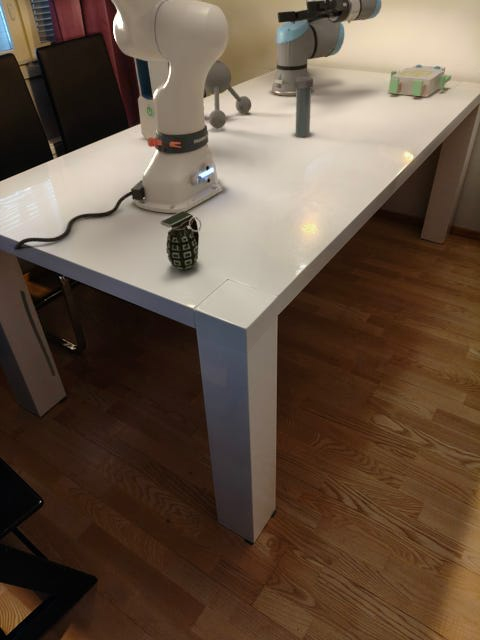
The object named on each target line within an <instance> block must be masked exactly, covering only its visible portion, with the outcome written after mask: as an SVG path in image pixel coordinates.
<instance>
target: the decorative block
mask: <svg viewBox="0 0 480 640" xmlns="http://www.w3.org/2000/svg"><path fill="white" fill-rule="evenodd" d="M445 72H446V67H445V66H440V65H435V66H433V65H422V64H415V65H414V66H412V67H406V68H404V69H402V70H399V71H396V70H392V71H391V72H390V80H389V86H388V87H389V89H388V94H395V95H404V96H413V97H424V98H428V97H430V96H432V95H433V94H434V93H435V92H436V91H438V90H444V88H445V84H447V83H448V82H450V81H451V80H452V75H451V74H445Z"/></svg>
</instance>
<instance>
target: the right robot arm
mask: <svg viewBox="0 0 480 640" xmlns="http://www.w3.org/2000/svg"><path fill="white" fill-rule="evenodd" d="M305 3H306V9H302V10H297V11H296V10H289V11H279V12H277V21H278V23H281V25H279V26H278V27H277V30H276V39H275V42H276V70H275V71H276V72H275V75H274V79H273V82H272V87H271V92H272V94H274V95H277V96H283V97H295V96H296V91H297V88H296V87H295V79H296V78H298V77H310V75H309V72H308V60H312V59H313V60H315V59H319V58H328V57H331V56H335V55H337V54H338V53H339V52H340V50H341V49H342V46H343V44H344V40H345V27H344V24H343V22H347V24H350V23H351V22H354V21H366V20H371V19H374V18H375V17H377V16H378V15H379V14H380V12H381V10H382V0H305Z"/></svg>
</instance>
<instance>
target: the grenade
mask: <svg viewBox="0 0 480 640" xmlns="http://www.w3.org/2000/svg"><path fill="white" fill-rule="evenodd" d="M198 222H199V226H198ZM159 224H160V225H162V226H164V227H166V228H169V230H168V231H167V236H166V254H167V259H168V261H169V263H170V265H171V266H172V267H174V268H176V269H178V270H181V271H186V270H189V269H192V267H194V266H195V265H196V264H197V262H198V261H197V260H198V259H199V243H200V241H199V240H200V233H199V232H200V231H201V228H202V221H201V220H200V219H199V218H198V217H197V216H194V215H193V214H192V213H189V212H187V211H185V212H184V211H181V212H179V213H174V214H172V215H170V216H169V217H166V218H165V219H162V220H160V222H159ZM198 227H199V228H198Z"/></svg>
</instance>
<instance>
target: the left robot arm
mask: <svg viewBox="0 0 480 640" xmlns="http://www.w3.org/2000/svg"><path fill="white" fill-rule="evenodd" d="M110 1H111V2H112V4H113V5H114V7H115V9H116V13H115V14H114V15H115V16H114V19H113V25H112V26H113V27H112V28H113V36H114V39H115V42H116V45H117V46H118V49H119V50H120V51H121V53H123V54H124V55H125V56H128V57H131V58H133V59H134V58H137V59H141V60H144V61H161V62H168V66H169V77H168V80H166V81H164V82H163V83H162V84H161V85H159V86H158V88H157V89H156V91H155V93H154V97H153V101H154V108H155V114H156V121H157V128H158V129H157V130H156V138H152V137H150V138H149V139H147V146H149V147H151V148H152V147H154V148H155V151H154V153H153V155H152V157H151V159H150V162H149V163H148V165H147V167H146V169H145V172H144V173H143V176H142V179H141V180H140V181H138V182H137V183H136V184H135V185H133V187H132V188H131V189H130V191H129V192H127V193H125V194H124V195H122V196H121V197H119V198H118V200H117V201H116V203H115V205H114V206H113V208H112V209H110V210H106V211H104V212H103V211H102V212H93V213H92V212H90V213H82V214H78V215H76V216H74V217H73V218H71V219H70V220H69V221H68V223H67V226H66V229H65V230H64V232H62V233H61V234H60V235H58V236H54V237H26V238H23V239H21V240H20V241H18V242H17V243H16V245H15V246H14V248H13V250H15V251H16V250H19V249H21V247H22V246H23V245H25V244H28V243H34V242H38V243H54V242H58V241H61V240H62V239H65V238H66V237H67V236H68V235H69V234H70V231H71V229H72V226H73V224H74V223H75V222H76V221H78V220H81V219H85V218H101V217H107V216H110V215H112V214H114V213H115V212H116V211H117V210H118V209H119V207H120V206H121V204H122V203H123V202H124V200H126V199H127V198H129V197H131V198H132V200H134V205H135V206H137V207H138V208H140V209H142V210H143V209H144V210H147V211H151V212H157V213H164V214H177V213H179V212H181V211H184V212H187V211H189V210H190V209H193V208H194V207H196V206H198V205H199V204H201V203H203V202H205V201H207V200H208V199H210V198H212V197H214V196H215V195H217V194H219V193H220V192H222V191H223V185H222V184H220V183H219V180H218V174H217V168H216V163H215V156H214V155H213V153H212V152H211V149H210V147H209V145H208V143H209V130H208V126H207V124H206V121H205V103H204V98H203V95H204V85H205V81H206V77H207V75H208V72H209V70H210V68H211V67H212V65H213V64H214V63H215V62H216V60H217V61H219V59H220V58H221V57H222V55H223V54H224V52H225V51H226V49H227V47H228V43H229V39H230V36H229V35H230V29H229V24H228V20H227V17H226V15H225V13H224V11H223V10H222V8H221V7H219V6H218V5H216V4H212V3H210V2H205V1H200V0H110ZM204 96H205V95H204ZM19 293H20V296H21V297H20V298H21V300H22V303H23V308H24V310H25V313H26V316H27V318H28V321H29V323H30V326H31V328H32V331H33V332H34V336H35V337H36V340H37V342H38V344H39V347H40V349H41V351H42V354H43V357H44V358H45V361H46V363H47V366H48V367H49V372H50V374H51V377H55V376H56V372H55V369H54V367H53V364H52V362H51V359H50V357H49V354H48V351H47V348H46V347H45V344H44V342H43V339H42V337H41V335H40V333H39V330H38V328H37V326H36V324H35V321H34V318H33V316H32V313H31V310H30V307H29V304H28V300H27V296H26V293H25V291H24V290H19Z"/></svg>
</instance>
